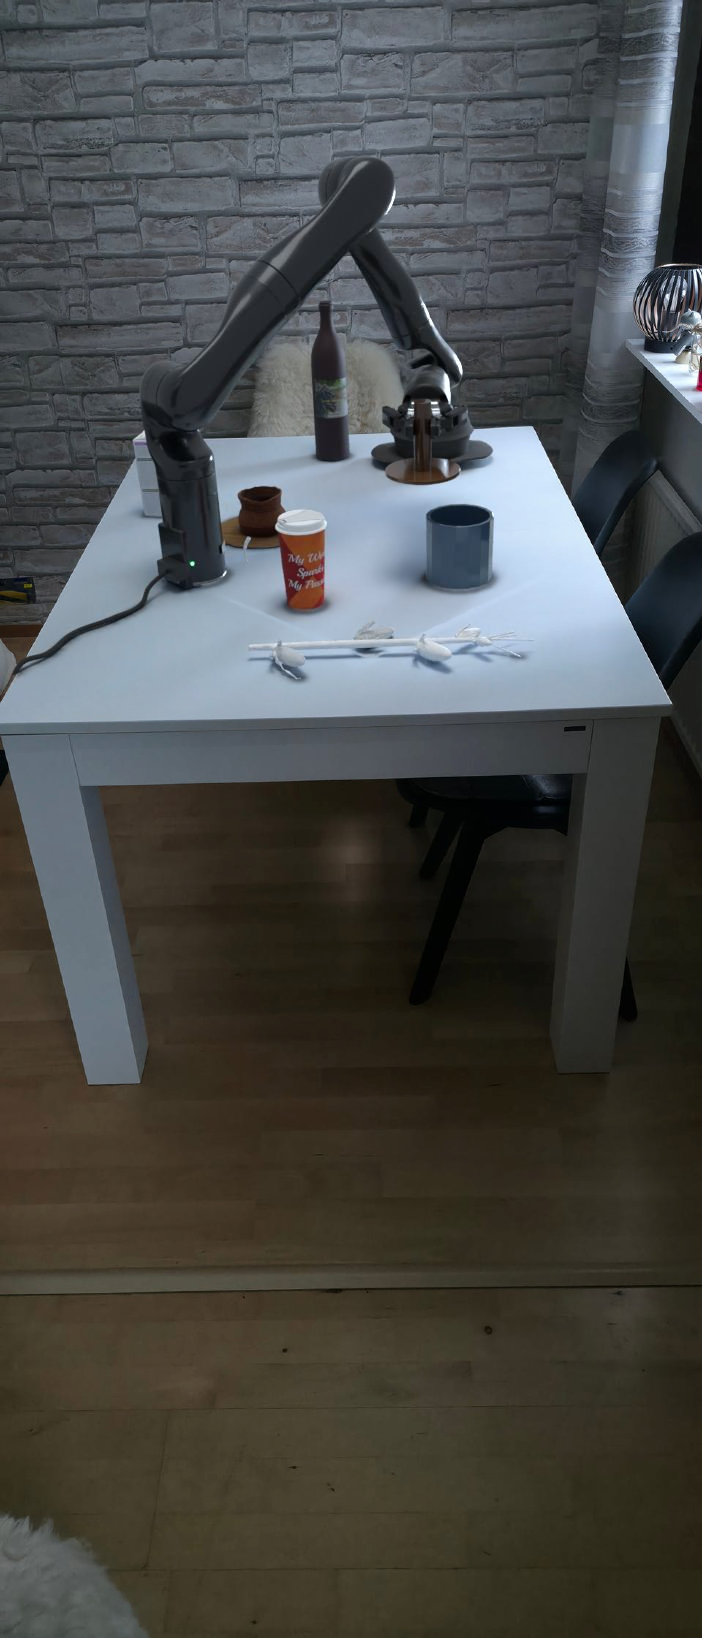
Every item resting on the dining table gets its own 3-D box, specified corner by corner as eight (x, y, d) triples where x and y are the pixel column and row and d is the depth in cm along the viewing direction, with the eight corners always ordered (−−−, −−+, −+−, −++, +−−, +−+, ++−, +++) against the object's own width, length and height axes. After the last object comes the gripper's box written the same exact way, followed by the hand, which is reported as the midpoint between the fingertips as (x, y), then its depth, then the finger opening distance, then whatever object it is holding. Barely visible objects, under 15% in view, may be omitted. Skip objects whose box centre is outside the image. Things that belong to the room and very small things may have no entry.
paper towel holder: (425, 494, 164) (425, 416, 158) (369, 478, 171) (367, 403, 165) (475, 475, 171) (477, 399, 164) (420, 460, 178) (420, 386, 171)
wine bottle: (313, 461, 233) (304, 305, 216) (319, 451, 239) (311, 298, 222) (346, 461, 232) (340, 305, 215) (352, 451, 238) (346, 298, 221)
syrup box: (173, 517, 208) (163, 438, 200) (143, 516, 209) (131, 438, 201) (183, 507, 213) (173, 429, 204) (153, 506, 214) (143, 428, 205)
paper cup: (294, 619, 169) (287, 530, 161) (273, 602, 175) (266, 514, 167) (340, 608, 172) (336, 519, 164) (318, 591, 178) (313, 504, 170)
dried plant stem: (245, 681, 153) (539, 671, 152) (233, 543, 145) (543, 531, 144) (253, 655, 164) (528, 646, 162) (243, 525, 156) (532, 514, 154)
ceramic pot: (253, 557, 191) (249, 516, 187) (194, 531, 202) (189, 492, 198) (333, 529, 200) (332, 490, 196) (272, 506, 211) (270, 469, 207)
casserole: (488, 445, 238) (489, 404, 233) (497, 472, 223) (498, 429, 218) (370, 449, 239) (369, 408, 234) (371, 477, 223) (370, 434, 219)
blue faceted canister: (461, 597, 173) (463, 532, 168) (412, 580, 180) (412, 516, 174) (504, 577, 179) (507, 513, 173) (455, 561, 186) (456, 499, 180)
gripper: (382, 376, 177) (373, 406, 163) (471, 375, 176) (470, 405, 161) (383, 425, 181) (375, 458, 167) (470, 424, 180) (469, 457, 166)
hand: (422, 432), depth 164 cm, fingers closed on paper towel holder, 2 cm apart
